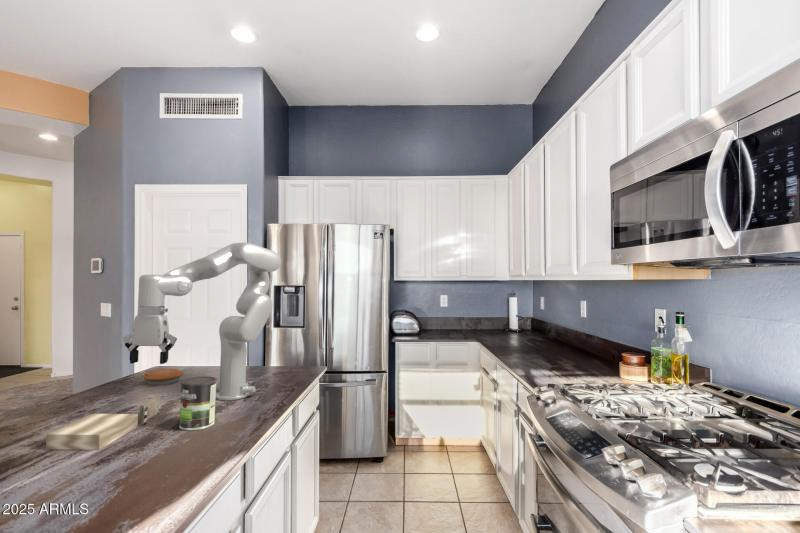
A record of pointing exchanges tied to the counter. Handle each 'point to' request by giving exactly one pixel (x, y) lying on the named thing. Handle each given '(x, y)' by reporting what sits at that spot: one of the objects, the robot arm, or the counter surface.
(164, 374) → the pie
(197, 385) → the coffee can
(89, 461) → the counter surface
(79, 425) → the birch block
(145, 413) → the stone tablet
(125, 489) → the counter surface
